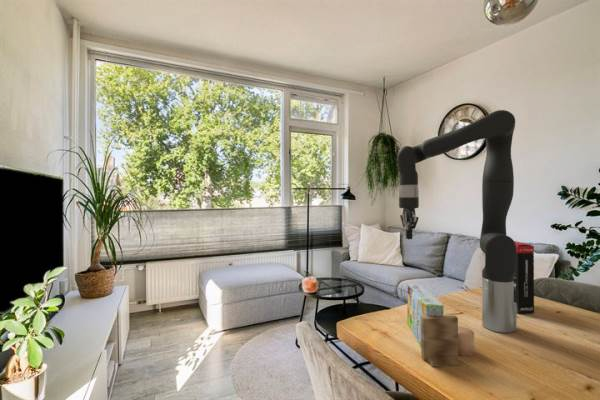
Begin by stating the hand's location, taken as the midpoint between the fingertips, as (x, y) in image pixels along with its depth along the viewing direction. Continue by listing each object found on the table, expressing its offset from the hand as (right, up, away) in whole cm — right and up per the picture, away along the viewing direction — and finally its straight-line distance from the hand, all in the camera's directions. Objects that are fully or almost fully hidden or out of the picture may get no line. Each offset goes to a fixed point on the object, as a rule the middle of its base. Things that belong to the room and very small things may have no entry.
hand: (409, 238), depth 121 cm
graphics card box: (+43, -29, +2) cm, 52 cm away
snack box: (-4, -30, -23) cm, 38 cm away
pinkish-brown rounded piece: (+5, -30, -31) cm, 43 cm away
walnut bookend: (-4, -30, -37) cm, 47 cm away
